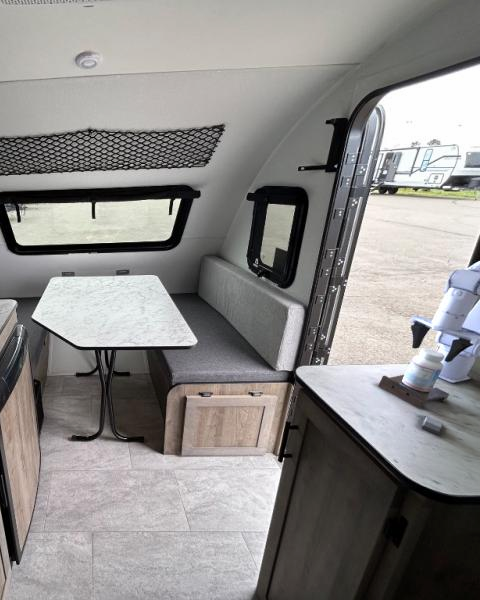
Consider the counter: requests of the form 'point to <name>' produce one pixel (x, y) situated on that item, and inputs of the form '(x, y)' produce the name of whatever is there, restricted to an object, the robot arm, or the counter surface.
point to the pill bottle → (424, 370)
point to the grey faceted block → (431, 425)
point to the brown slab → (410, 391)
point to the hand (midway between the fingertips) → (430, 354)
